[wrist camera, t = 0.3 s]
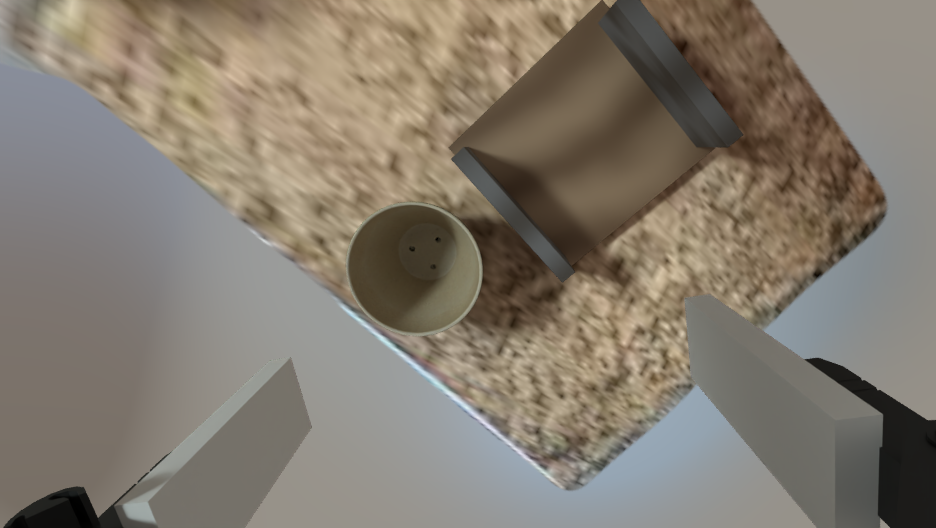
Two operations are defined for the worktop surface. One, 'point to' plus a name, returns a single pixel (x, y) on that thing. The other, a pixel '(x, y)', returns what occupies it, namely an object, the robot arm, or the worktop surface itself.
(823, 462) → the robot arm
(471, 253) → the flower pot
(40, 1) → the worktop surface
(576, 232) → the cradle
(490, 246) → the worktop surface
